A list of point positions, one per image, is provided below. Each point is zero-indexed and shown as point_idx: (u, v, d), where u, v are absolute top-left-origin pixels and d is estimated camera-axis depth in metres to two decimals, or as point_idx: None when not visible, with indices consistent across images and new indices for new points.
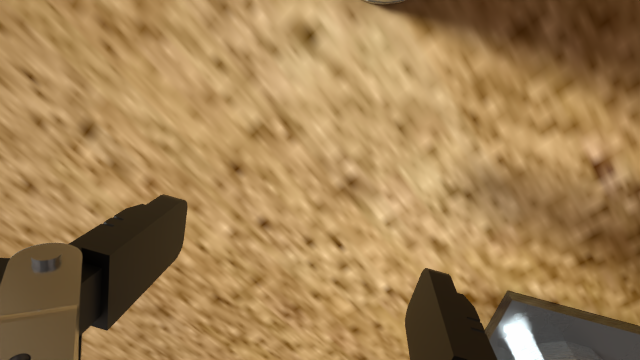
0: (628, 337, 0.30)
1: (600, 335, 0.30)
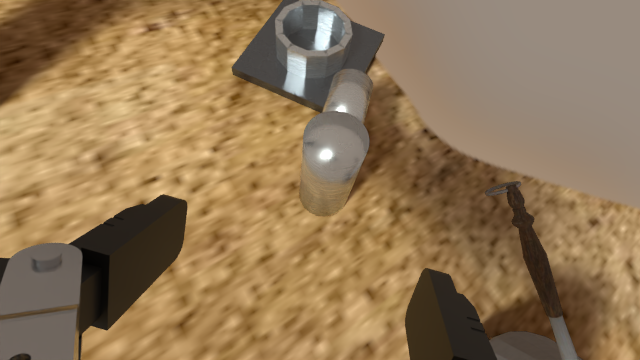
0: (277, 14, 0.45)
1: (273, 26, 0.44)
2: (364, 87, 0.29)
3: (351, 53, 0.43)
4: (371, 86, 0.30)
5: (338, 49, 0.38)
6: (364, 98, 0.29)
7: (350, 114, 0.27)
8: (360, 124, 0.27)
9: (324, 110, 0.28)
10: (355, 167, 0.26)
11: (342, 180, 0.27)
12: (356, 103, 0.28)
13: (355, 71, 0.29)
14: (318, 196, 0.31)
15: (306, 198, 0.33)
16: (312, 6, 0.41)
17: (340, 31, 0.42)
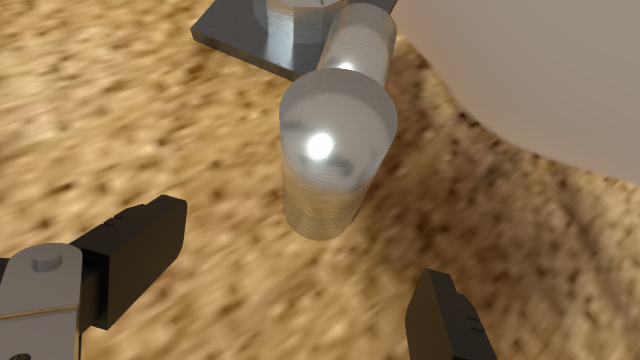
0: None
1: None
2: (384, 32, 0.17)
3: None
4: (395, 34, 0.18)
5: None
6: (384, 50, 0.17)
7: (363, 74, 0.16)
8: (380, 90, 0.15)
9: (317, 70, 0.17)
10: (373, 165, 0.15)
11: (349, 187, 0.16)
12: (372, 57, 0.16)
13: (369, 6, 0.18)
14: (309, 214, 0.19)
15: (292, 215, 0.21)
16: None
17: None
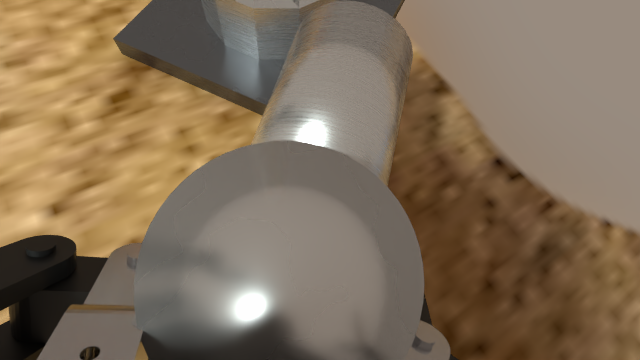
0: None
1: None
2: (390, 59, 0.09)
3: None
4: (410, 59, 0.10)
5: None
6: (390, 96, 0.09)
7: (346, 154, 0.07)
8: (383, 195, 0.07)
9: (255, 136, 0.08)
10: None
11: None
12: (367, 113, 0.08)
13: (360, 8, 0.09)
14: None
15: None
16: None
17: None
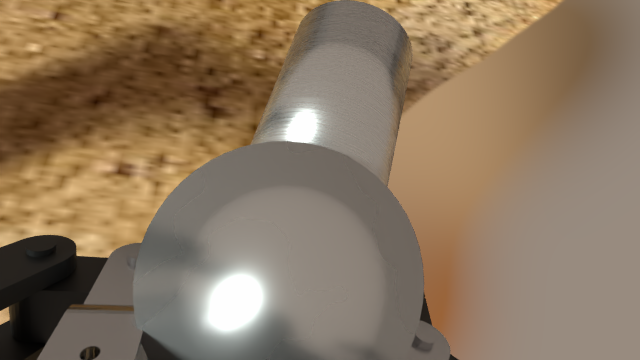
0: None
1: None
2: (390, 58, 0.09)
3: None
4: (410, 59, 0.10)
5: None
6: (390, 95, 0.09)
7: (345, 154, 0.07)
8: (382, 195, 0.07)
9: (255, 136, 0.08)
10: None
11: None
12: (366, 113, 0.08)
13: (360, 8, 0.09)
14: None
15: None
16: None
17: None
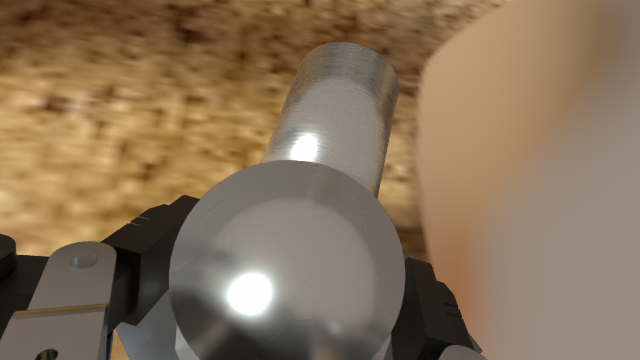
0: None
1: None
2: (379, 91, 0.10)
3: None
4: (396, 90, 0.12)
5: None
6: (379, 121, 0.10)
7: (341, 171, 0.09)
8: (372, 205, 0.08)
9: (265, 155, 0.10)
10: None
11: None
12: (359, 137, 0.09)
13: (353, 48, 0.11)
14: None
15: None
16: None
17: None
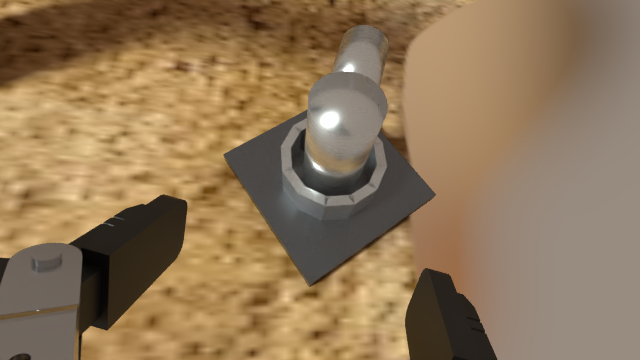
0: None
1: None
2: (379, 46, 0.25)
3: (375, 202, 0.31)
4: (387, 47, 0.26)
5: (345, 202, 0.27)
6: (379, 59, 0.24)
7: (364, 76, 0.23)
8: (376, 86, 0.23)
9: (332, 72, 0.24)
10: (370, 137, 0.22)
11: (354, 153, 0.23)
12: (371, 63, 0.24)
13: (368, 28, 0.25)
14: (325, 176, 0.26)
15: (311, 180, 0.29)
16: None
17: (372, 171, 0.30)
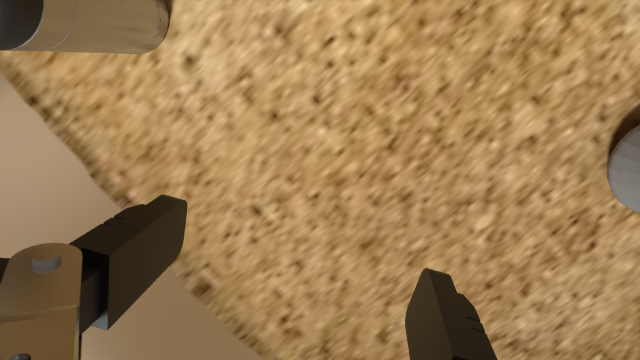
0: None
1: None
2: None
3: None
4: None
5: None
6: None
7: None
8: None
9: None
10: None
11: None
12: None
13: None
14: None
15: None
16: None
17: None
